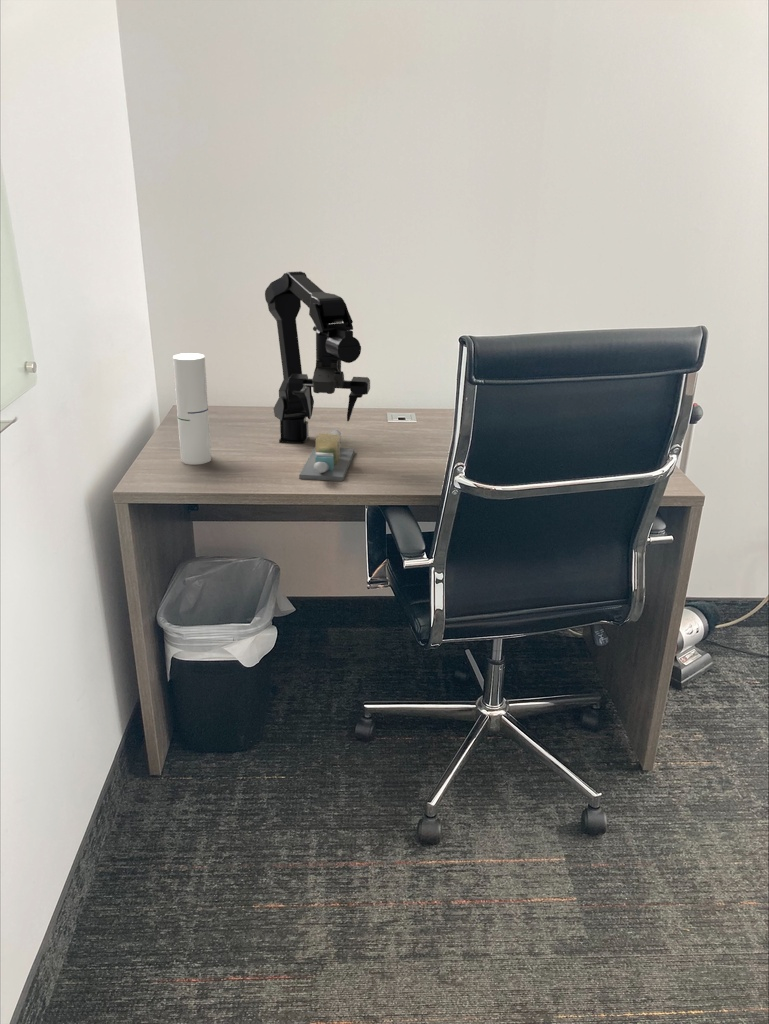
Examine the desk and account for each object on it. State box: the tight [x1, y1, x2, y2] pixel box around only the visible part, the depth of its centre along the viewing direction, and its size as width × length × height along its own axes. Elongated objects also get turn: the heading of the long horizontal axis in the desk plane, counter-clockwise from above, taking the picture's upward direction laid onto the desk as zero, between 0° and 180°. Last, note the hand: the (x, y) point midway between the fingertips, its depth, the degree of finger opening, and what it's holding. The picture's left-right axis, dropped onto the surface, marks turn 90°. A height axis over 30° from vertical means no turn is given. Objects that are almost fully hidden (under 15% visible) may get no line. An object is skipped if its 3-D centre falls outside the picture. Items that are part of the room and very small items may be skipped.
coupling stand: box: [298, 429, 355, 482], centre depth 192 cm, size 10×26×5 cm, turn 175°
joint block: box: [315, 433, 341, 465], centre depth 191 cm, size 5×5×6 cm
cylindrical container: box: [172, 352, 212, 466], centre depth 190 cm, size 7×7×25 cm
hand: (328, 419), depth 190 cm, fingers open, 9 cm apart
